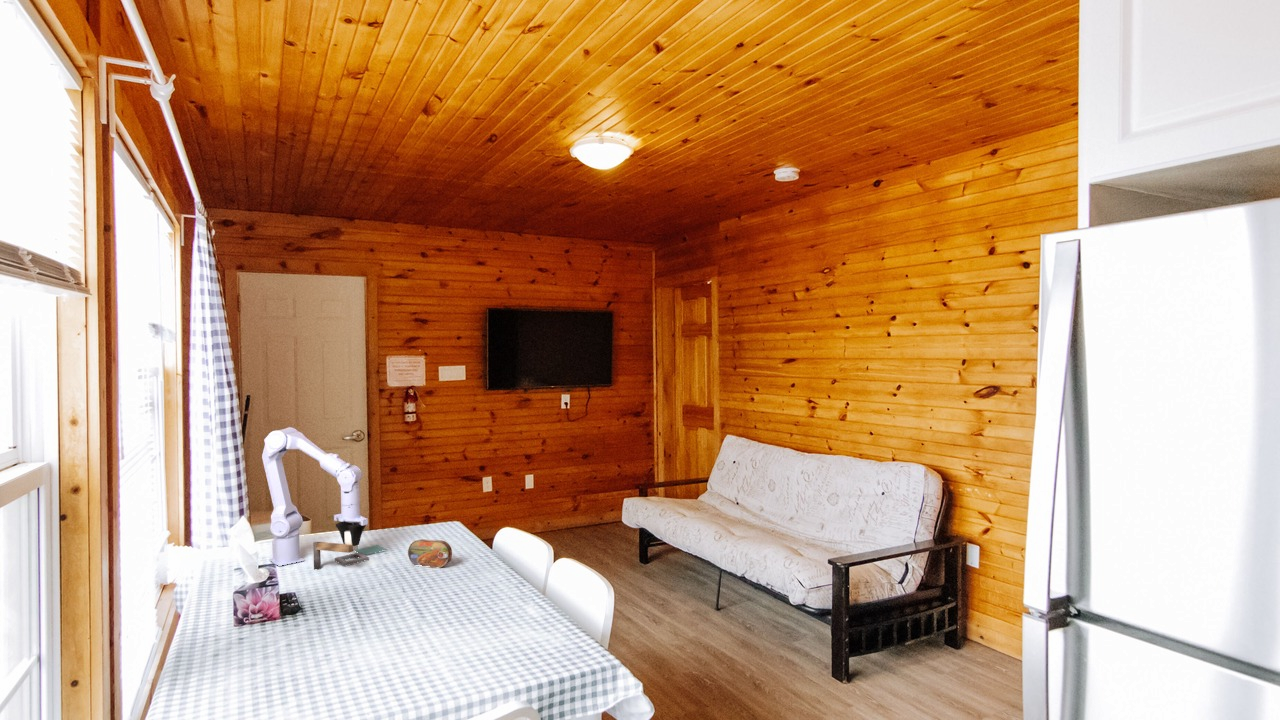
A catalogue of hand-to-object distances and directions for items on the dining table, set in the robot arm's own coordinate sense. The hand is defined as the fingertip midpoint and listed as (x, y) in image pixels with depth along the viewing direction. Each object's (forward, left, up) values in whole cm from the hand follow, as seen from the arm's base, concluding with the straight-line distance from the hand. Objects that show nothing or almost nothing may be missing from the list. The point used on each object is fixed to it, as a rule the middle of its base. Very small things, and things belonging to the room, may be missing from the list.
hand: (351, 544), depth 225 cm
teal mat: (-6, +9, -5) cm, 12 cm away
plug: (0, 0, -2) cm, 2 cm away
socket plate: (0, 0, -5) cm, 5 cm away
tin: (+25, +15, -6) cm, 30 cm away
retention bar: (+6, -8, -5) cm, 11 cm away
